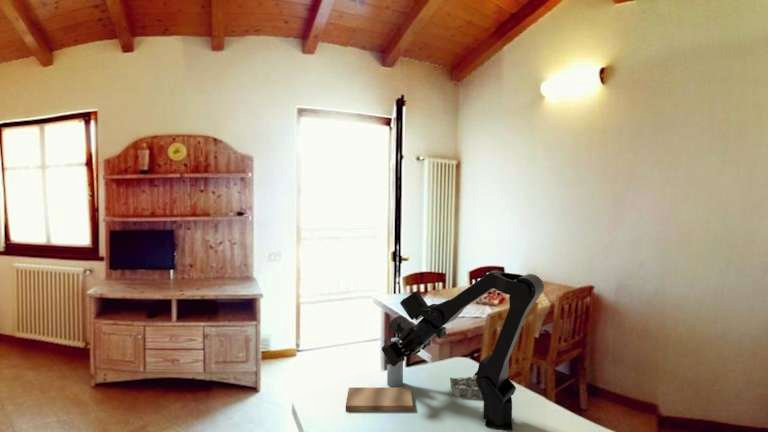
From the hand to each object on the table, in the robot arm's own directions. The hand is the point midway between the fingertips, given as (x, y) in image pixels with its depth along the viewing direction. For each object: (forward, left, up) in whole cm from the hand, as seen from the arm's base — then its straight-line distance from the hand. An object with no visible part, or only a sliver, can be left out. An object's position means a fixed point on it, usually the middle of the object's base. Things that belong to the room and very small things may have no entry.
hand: (391, 360), depth 120 cm
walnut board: (+1, +12, -7) cm, 14 cm away
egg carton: (-23, -1, -8) cm, 24 cm away
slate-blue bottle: (-1, +1, -7) cm, 7 cm away
